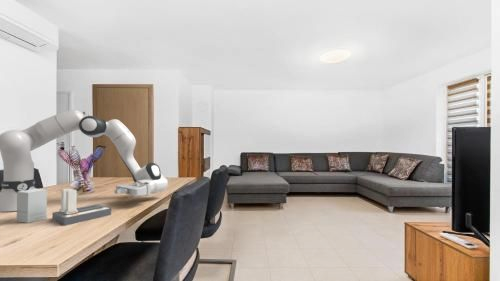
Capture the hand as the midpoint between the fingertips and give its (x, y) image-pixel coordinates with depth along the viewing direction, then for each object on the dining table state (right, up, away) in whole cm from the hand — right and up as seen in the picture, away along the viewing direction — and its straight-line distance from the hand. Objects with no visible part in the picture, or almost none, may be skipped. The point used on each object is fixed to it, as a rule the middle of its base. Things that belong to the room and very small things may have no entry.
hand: (115, 192), depth 123 cm
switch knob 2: (-8, -5, -20) cm, 22 cm away
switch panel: (-6, -8, -15) cm, 18 cm away
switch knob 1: (-12, -5, -18) cm, 22 cm away
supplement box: (-25, -8, -20) cm, 33 cm away
